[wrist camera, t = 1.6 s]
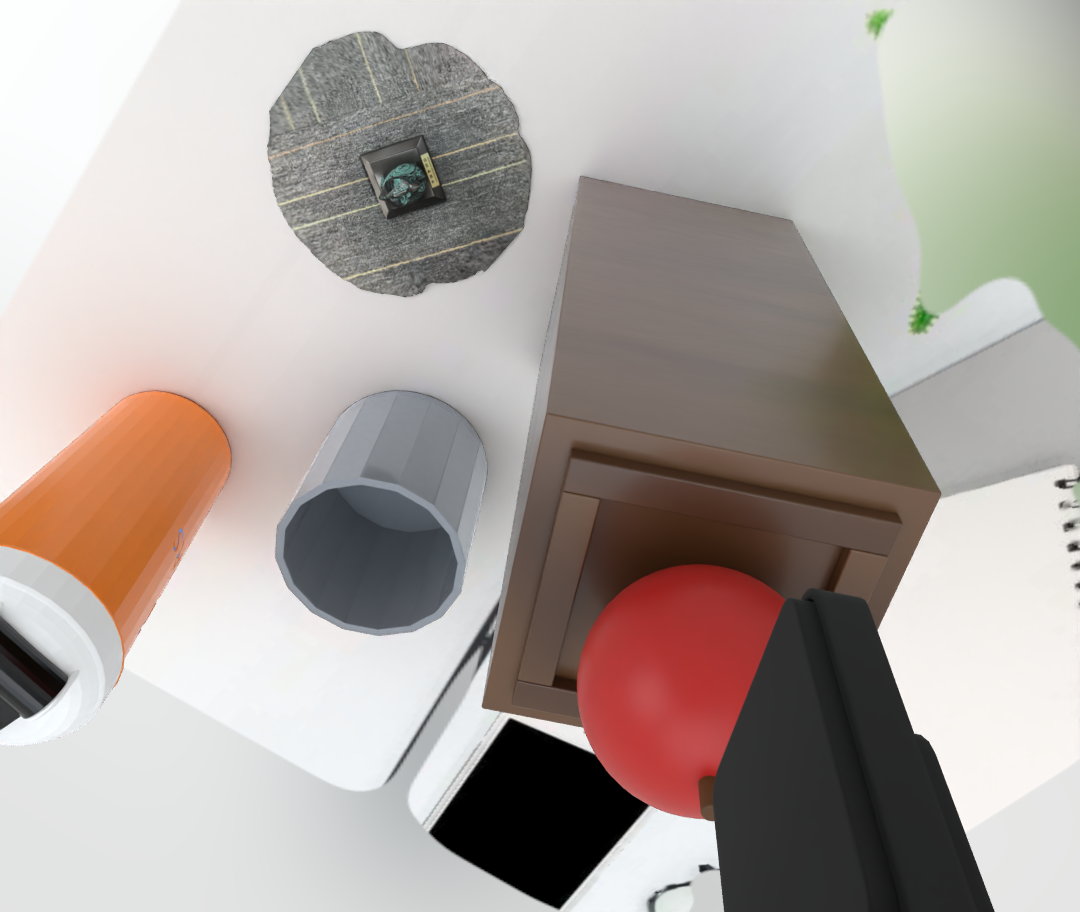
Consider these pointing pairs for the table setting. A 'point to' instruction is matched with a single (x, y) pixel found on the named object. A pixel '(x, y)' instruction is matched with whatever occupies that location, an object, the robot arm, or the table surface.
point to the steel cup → (385, 515)
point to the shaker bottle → (97, 556)
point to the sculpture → (398, 163)
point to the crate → (694, 434)
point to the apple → (673, 680)
